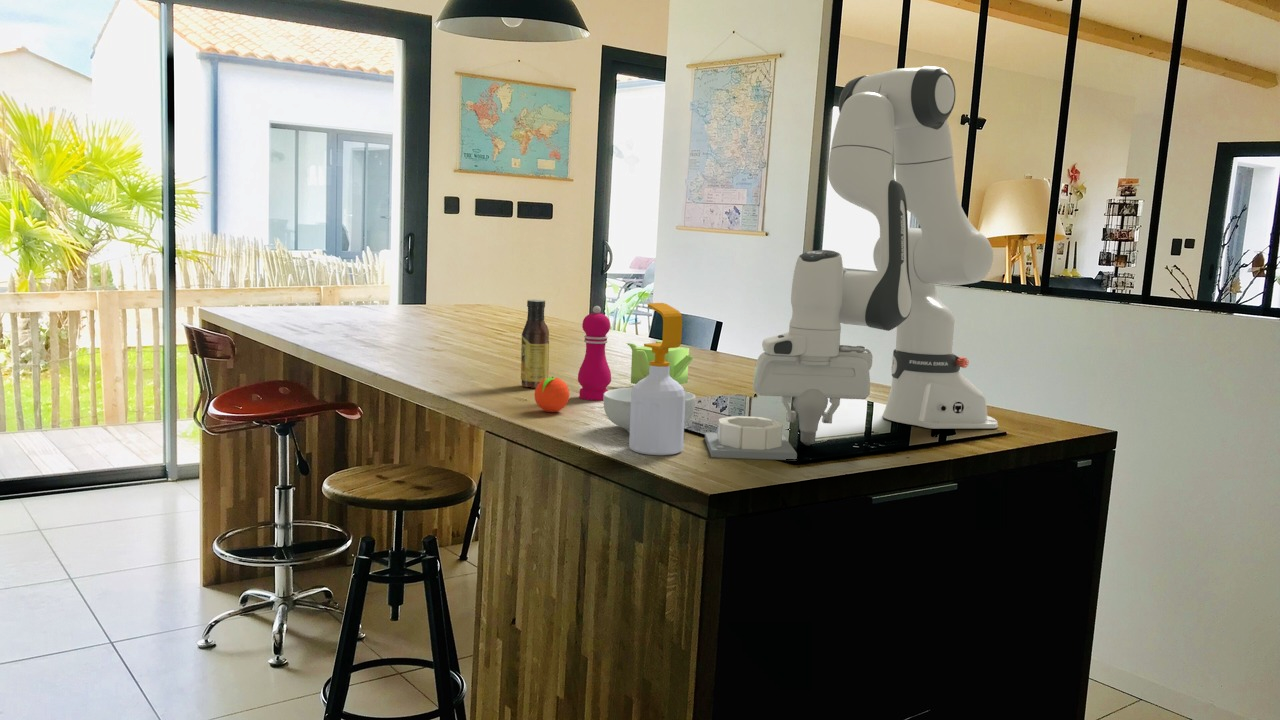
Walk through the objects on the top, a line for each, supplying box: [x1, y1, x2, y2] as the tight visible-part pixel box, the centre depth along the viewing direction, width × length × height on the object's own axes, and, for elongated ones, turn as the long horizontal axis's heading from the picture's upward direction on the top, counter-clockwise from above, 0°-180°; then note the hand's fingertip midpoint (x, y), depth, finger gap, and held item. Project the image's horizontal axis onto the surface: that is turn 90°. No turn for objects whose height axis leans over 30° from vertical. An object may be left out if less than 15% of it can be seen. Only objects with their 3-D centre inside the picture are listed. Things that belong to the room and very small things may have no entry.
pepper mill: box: [577, 305, 612, 402], centre depth 210 cm, size 7×7×20 cm
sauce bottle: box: [520, 299, 550, 389], centre depth 222 cm, size 6×6×20 cm
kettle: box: [625, 340, 694, 385], centre depth 227 cm, size 15×14×11 cm
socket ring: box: [717, 415, 784, 450], centre depth 167 cm, size 10×10×4 cm
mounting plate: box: [704, 432, 798, 461], centre depth 167 cm, size 14×14×2 cm
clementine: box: [534, 376, 570, 413], centre depth 193 cm, size 8×7×7 cm
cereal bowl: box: [602, 386, 697, 434], centre depth 178 cm, size 17×17×7 cm
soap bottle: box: [628, 302, 686, 456], centre depth 162 cm, size 9×9×25 cm
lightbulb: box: [792, 389, 829, 446], centre depth 172 cm, size 6×6×11 cm
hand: (808, 422), depth 172 cm, fingers closed on lightbulb, 5 cm apart
